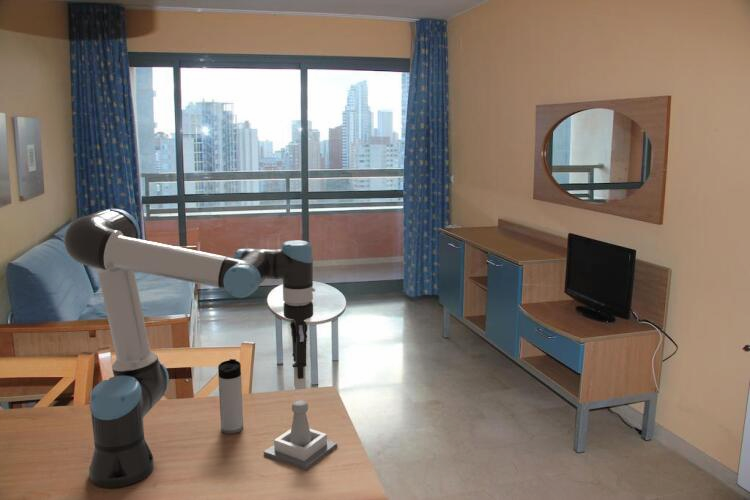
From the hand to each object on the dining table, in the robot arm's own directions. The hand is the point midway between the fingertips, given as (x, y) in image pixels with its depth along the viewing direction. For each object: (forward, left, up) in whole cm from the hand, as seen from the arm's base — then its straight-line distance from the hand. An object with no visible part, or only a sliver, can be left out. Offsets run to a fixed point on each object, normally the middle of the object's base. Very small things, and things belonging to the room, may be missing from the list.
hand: (299, 387), depth 168 cm
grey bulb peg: (0, 0, -18) cm, 18 cm away
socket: (0, 0, -18) cm, 18 cm away
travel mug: (-24, -1, -19) cm, 30 cm away
